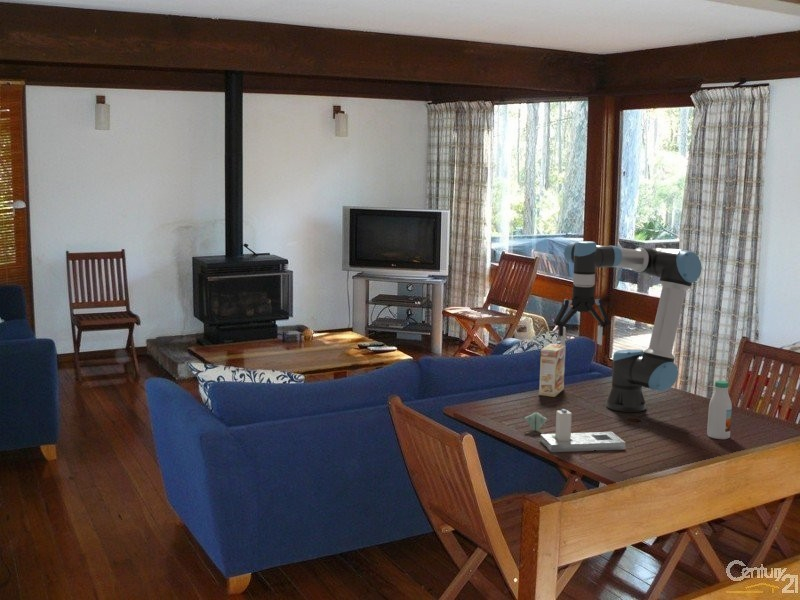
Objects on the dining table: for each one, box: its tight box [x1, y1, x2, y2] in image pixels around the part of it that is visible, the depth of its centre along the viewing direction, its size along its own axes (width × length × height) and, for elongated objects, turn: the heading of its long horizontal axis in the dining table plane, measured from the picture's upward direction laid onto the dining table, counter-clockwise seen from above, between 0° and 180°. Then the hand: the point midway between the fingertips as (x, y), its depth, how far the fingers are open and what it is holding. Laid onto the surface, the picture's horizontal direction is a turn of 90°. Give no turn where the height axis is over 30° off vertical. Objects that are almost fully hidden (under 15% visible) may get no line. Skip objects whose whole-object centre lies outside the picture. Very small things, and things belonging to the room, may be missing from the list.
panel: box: [539, 431, 626, 453], centre depth 305 cm, size 26×12×3 cm, turn 99°
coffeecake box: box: [538, 342, 567, 398], centre depth 374 cm, size 15×7×20 cm, turn 155°
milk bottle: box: [706, 380, 733, 440], centre depth 315 cm, size 8×8×20 cm
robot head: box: [524, 411, 548, 432], centre depth 321 cm, size 8×4×7 cm, turn 78°
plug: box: [554, 408, 573, 442], centre depth 303 cm, size 4×4×13 cm
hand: (581, 344), depth 316 cm, fingers open, 13 cm apart
